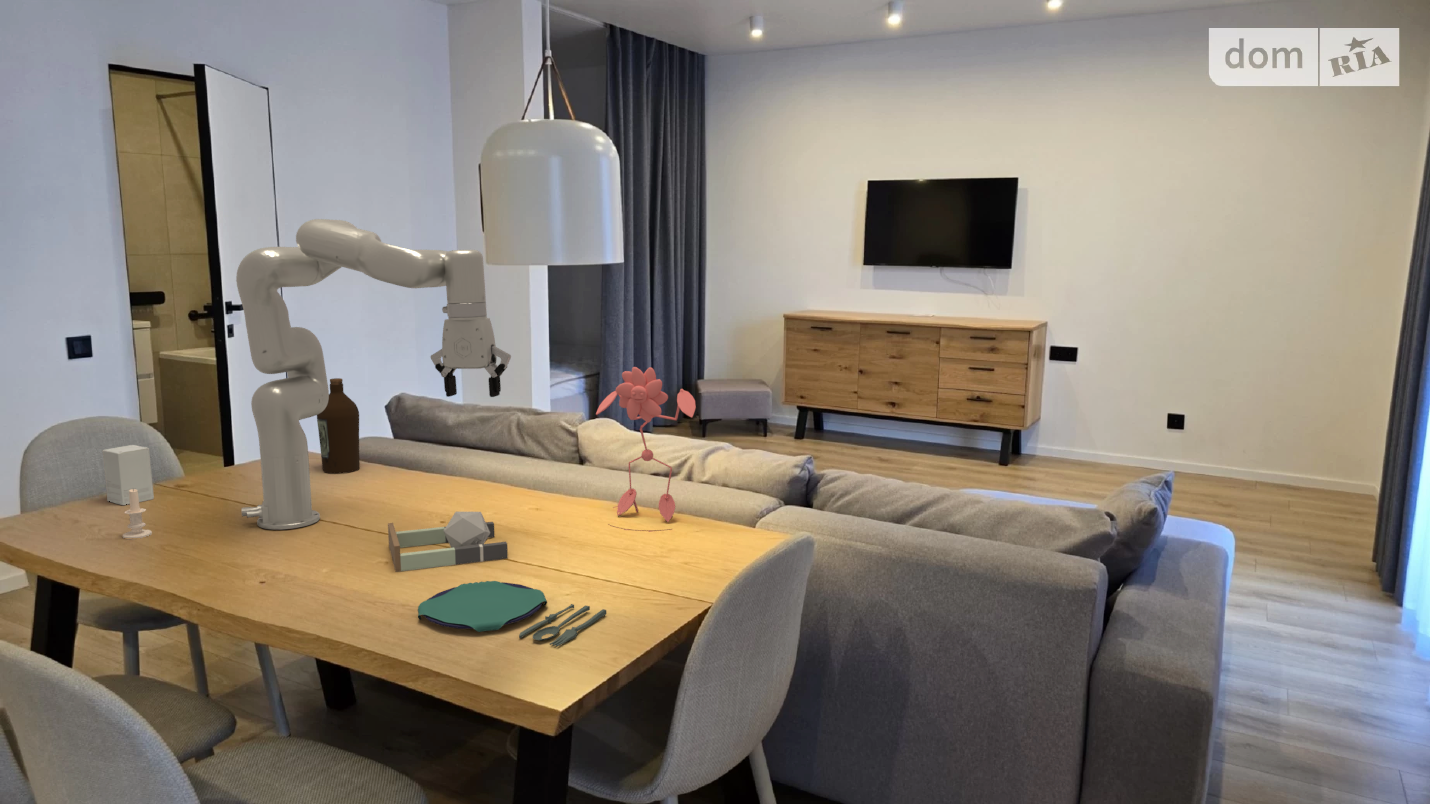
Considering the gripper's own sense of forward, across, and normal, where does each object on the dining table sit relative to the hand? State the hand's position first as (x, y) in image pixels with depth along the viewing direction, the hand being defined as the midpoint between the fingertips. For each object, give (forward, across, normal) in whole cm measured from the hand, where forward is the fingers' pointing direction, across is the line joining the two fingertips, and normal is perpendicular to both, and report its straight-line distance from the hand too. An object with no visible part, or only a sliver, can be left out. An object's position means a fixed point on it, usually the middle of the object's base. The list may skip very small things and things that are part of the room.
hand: (473, 395), depth 190 cm
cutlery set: (+32, +23, -36) cm, 54 cm away
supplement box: (+27, -95, +6) cm, 99 cm away
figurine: (+32, +28, +21) cm, 47 cm away
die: (+31, 0, -7) cm, 31 cm away
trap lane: (+30, -3, -9) cm, 32 cm away
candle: (+28, -71, -16) cm, 78 cm away
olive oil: (+28, -66, +46) cm, 85 cm away
